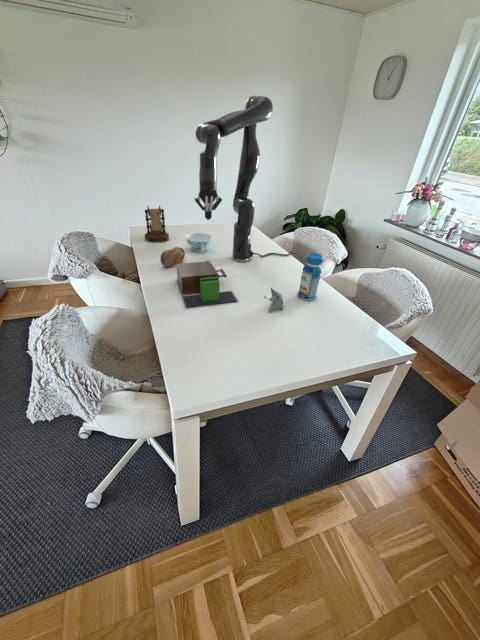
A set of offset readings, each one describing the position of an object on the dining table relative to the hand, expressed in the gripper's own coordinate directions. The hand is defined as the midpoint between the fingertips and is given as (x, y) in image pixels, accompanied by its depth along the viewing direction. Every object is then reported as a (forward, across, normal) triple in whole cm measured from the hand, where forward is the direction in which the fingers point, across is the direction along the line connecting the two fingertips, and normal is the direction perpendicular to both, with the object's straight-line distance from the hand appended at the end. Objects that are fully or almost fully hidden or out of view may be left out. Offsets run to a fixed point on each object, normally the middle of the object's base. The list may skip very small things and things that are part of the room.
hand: (208, 219), depth 140 cm
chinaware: (+27, +2, +30) cm, 41 cm away
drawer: (+26, -5, -14) cm, 30 cm away
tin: (+27, -16, +12) cm, 34 cm away
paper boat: (+27, +19, -39) cm, 51 cm away
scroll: (+27, -20, +54) cm, 63 cm away
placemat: (+26, -6, -28) cm, 39 cm away
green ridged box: (+26, -6, -28) cm, 39 cm away
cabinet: (+26, -9, -14) cm, 31 cm away
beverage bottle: (+27, +38, -36) cm, 58 cm away
